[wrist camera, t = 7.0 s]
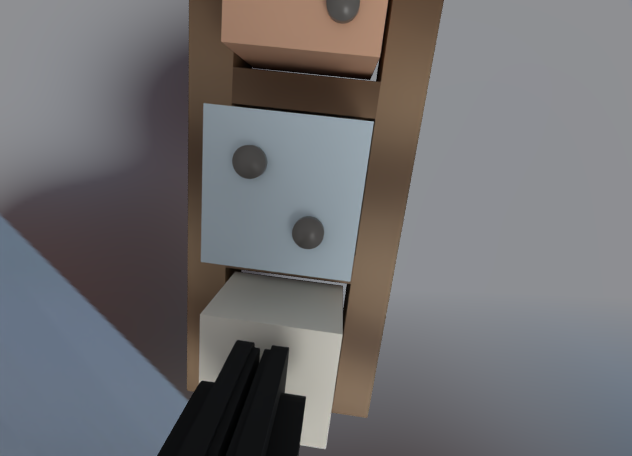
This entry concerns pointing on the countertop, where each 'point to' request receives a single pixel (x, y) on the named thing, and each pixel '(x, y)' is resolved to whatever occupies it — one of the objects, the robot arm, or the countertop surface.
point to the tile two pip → (282, 190)
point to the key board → (381, 177)
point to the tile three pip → (306, 35)
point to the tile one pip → (280, 337)
